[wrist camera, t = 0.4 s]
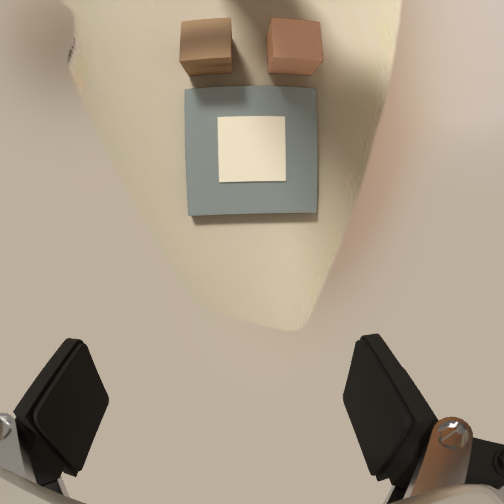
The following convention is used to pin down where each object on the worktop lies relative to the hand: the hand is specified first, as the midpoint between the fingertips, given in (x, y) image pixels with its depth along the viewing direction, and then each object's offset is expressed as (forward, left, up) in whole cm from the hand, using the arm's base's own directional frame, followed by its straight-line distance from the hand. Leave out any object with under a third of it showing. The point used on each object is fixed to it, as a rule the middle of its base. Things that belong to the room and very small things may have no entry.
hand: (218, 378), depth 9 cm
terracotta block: (-21, +7, -29) cm, 37 cm away
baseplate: (-8, +2, -29) cm, 30 cm away
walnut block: (-21, -3, -29) cm, 36 cm away
